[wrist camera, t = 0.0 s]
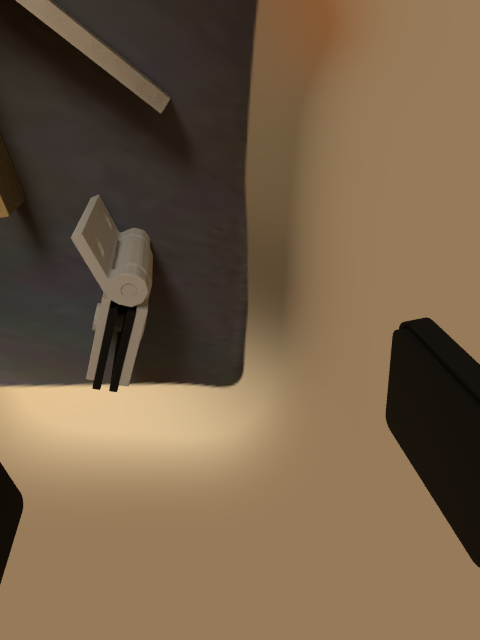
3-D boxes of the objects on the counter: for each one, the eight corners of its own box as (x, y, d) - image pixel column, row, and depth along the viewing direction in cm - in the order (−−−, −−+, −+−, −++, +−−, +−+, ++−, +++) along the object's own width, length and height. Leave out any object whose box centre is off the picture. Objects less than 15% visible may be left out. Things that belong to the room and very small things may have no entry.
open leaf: (-40, -49, 27) (-72, -68, 23) (-32, -69, 27) (-64, -90, 23) (160, 108, 33) (161, 113, 30) (169, 94, 33) (170, 98, 29)
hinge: (89, 193, 36) (69, 232, 28) (153, 197, 37) (152, 236, 29) (99, 329, 43) (86, 393, 35) (153, 329, 44) (152, 391, 36)
